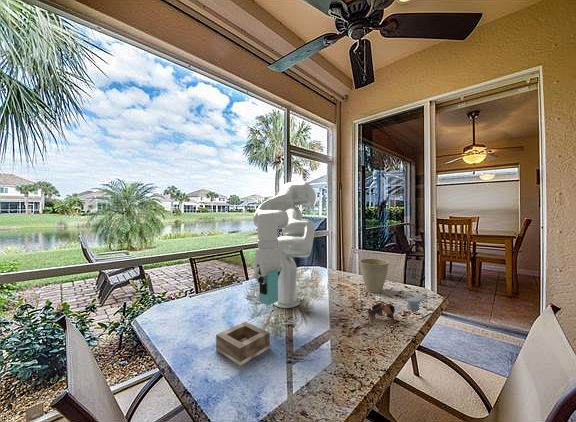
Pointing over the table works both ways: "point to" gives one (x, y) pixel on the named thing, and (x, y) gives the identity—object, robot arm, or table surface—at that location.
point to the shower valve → (412, 303)
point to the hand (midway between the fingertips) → (268, 291)
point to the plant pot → (374, 273)
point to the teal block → (270, 288)
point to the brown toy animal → (378, 310)
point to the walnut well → (242, 342)
